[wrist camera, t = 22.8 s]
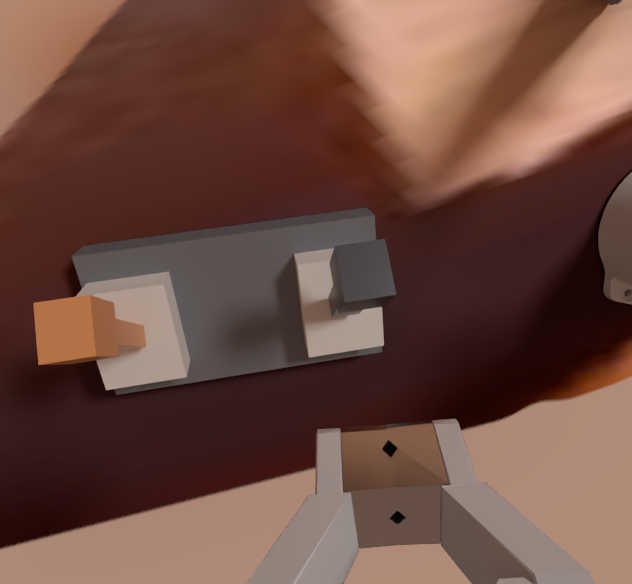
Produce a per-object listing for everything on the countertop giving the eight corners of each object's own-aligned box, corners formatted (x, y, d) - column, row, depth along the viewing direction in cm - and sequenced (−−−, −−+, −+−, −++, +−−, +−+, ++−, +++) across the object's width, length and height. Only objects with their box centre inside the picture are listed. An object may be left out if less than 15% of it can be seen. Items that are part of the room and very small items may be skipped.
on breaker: (358, 282, 42) (384, 238, 30) (365, 323, 41) (396, 294, 29) (321, 288, 41) (334, 245, 30) (328, 329, 41) (344, 302, 29)
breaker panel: (366, 207, 45) (383, 223, 40) (374, 337, 51) (390, 367, 45) (82, 246, 43) (58, 268, 37) (123, 377, 49) (108, 414, 43)
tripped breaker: (147, 313, 40) (90, 294, 28) (152, 357, 40) (96, 356, 28) (108, 319, 40) (33, 303, 28) (112, 363, 39) (38, 364, 27)
